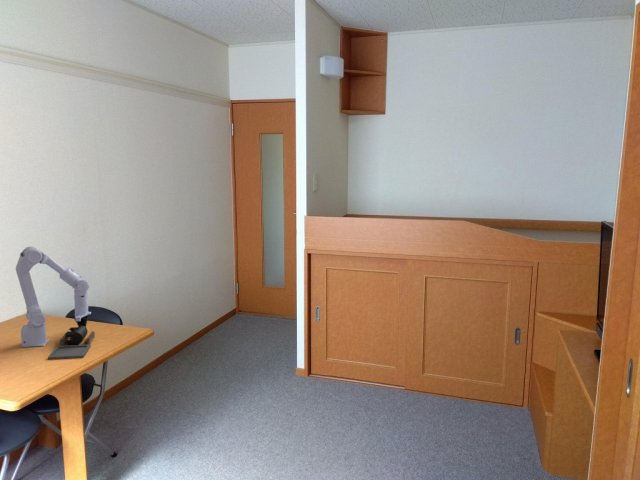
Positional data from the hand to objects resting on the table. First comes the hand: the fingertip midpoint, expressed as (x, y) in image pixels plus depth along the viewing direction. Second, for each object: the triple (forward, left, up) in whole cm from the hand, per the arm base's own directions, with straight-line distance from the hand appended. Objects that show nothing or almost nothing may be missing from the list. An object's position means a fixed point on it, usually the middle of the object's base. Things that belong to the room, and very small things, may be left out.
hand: (82, 331), depth 238 cm
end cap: (0, -10, -2) cm, 10 cm away
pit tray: (0, -22, -2) cm, 22 cm away
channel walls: (0, -9, -2) cm, 9 cm away
